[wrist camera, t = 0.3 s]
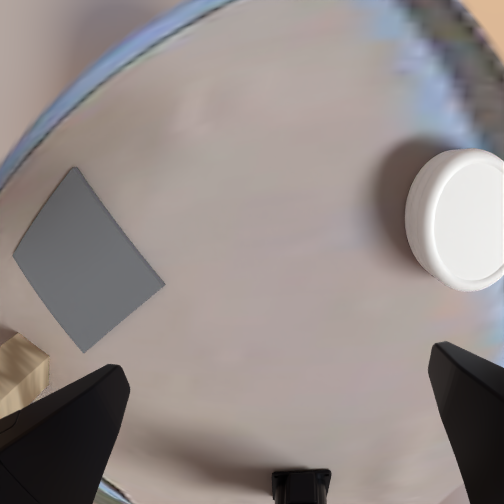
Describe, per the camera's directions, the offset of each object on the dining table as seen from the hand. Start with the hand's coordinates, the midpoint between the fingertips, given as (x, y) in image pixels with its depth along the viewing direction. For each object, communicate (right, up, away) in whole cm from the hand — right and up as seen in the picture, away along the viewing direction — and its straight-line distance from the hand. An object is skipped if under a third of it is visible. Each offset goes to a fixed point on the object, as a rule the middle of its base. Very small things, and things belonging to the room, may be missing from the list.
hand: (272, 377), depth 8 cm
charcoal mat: (-15, +2, +16) cm, 22 cm away
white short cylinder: (+15, +6, +12) cm, 20 cm away
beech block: (-26, -9, +20) cm, 34 cm away
